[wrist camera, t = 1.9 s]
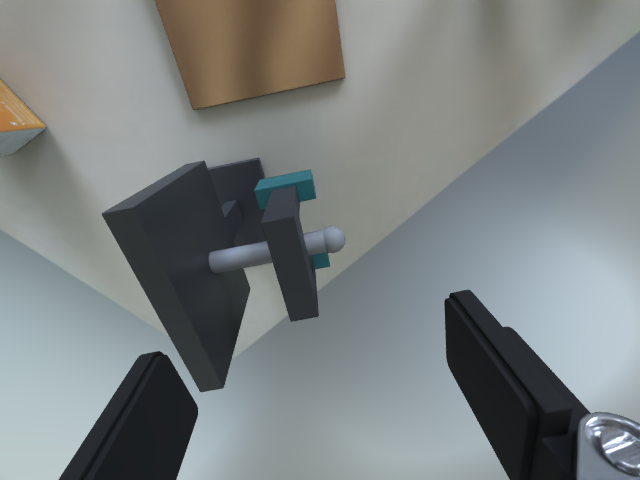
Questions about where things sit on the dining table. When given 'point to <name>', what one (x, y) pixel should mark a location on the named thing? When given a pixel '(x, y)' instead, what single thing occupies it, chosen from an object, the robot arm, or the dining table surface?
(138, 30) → the dining table surface
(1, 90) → the small box
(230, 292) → the grey peg stand
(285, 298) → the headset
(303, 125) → the dining table surface
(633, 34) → the dining table surface
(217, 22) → the desk pad
